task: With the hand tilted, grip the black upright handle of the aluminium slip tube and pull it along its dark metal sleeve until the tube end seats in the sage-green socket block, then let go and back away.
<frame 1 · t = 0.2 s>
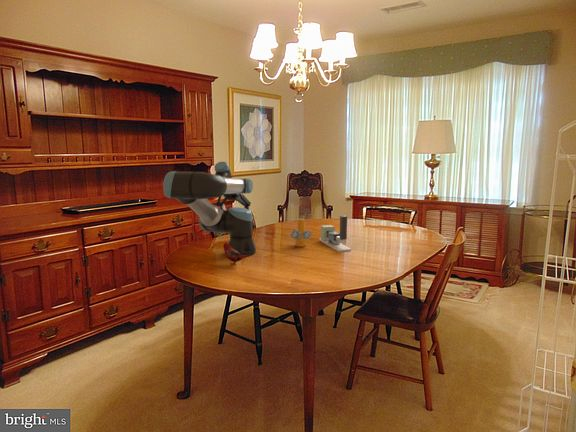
hand: (236, 213, 247), 15 cm above the table, tool tilted 35°, fingers open, 13 cm apart
slip tube: (337, 227, 230), point 11 cm above the table, slide at 0.0 cm
outer sleeve: (333, 238, 236), on the base plate, point 4 cm above the table
socket block: (327, 232, 245), on the base plate, point 5 cm above the table
base plate: (334, 245, 236), on the table
orange grey upright piece: (301, 245, 235), on the table
decorative bird figurine: (235, 265, 197), on the table
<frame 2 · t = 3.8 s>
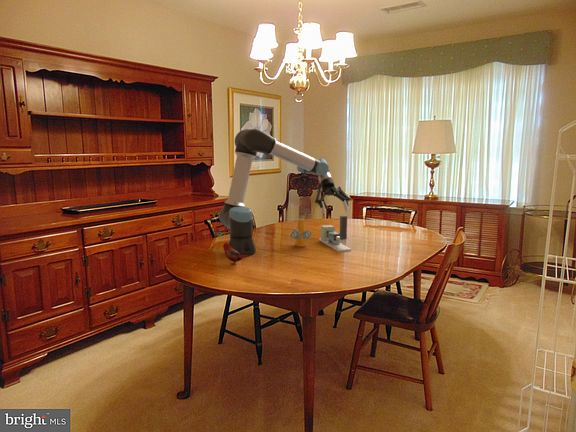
hand: (336, 211, 232), 19 cm above the table, tool tilted 45°, fingers open, 13 cm apart
nothing on the table moved.
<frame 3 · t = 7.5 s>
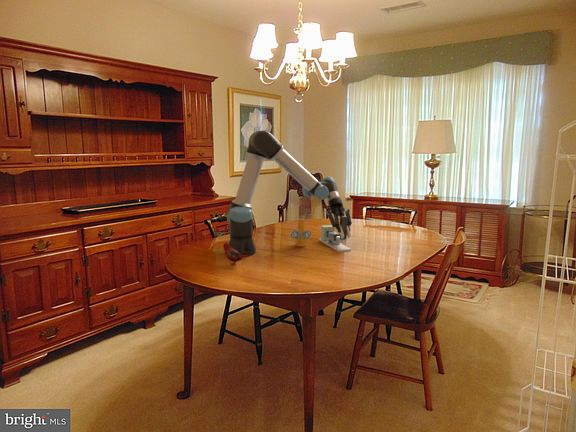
hand: (346, 236, 220), 8 cm above the table, tool tilted 45°, fingers closed on slip tube, 3 cm apart
slip tube: (337, 227, 230), point 11 cm above the table, slide at 0.0 cm, touching gripper
everything else where it was.
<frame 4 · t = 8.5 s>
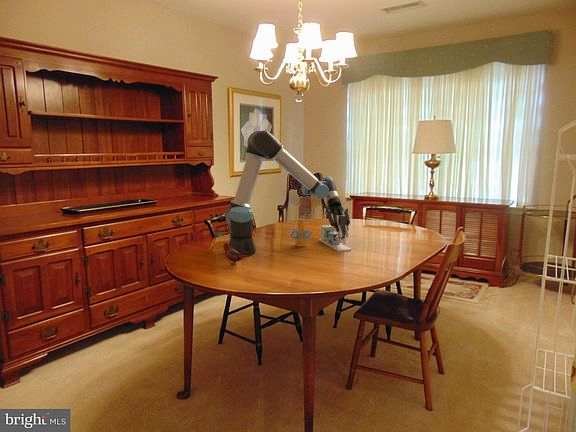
hand: (344, 236, 222), 8 cm above the table, tool tilted 45°, fingers closed on slip tube, 3 cm apart
slip tube: (336, 226, 232), point 11 cm above the table, slide at 2.0 cm, touching gripper
everything else where it was.
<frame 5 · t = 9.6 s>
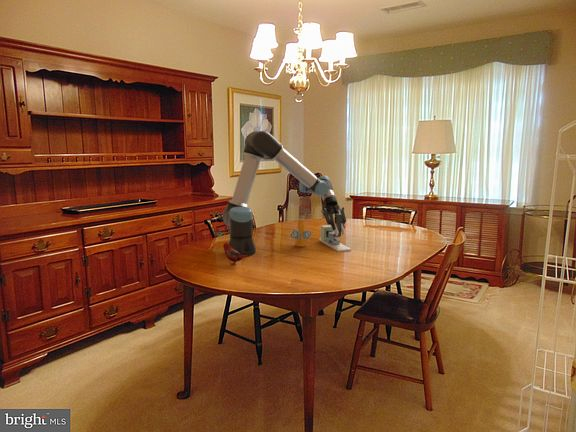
hand: (340, 234, 227), 8 cm above the table, tool tilted 45°, fingers closed on slip tube, 3 cm apart
slip tube: (332, 224, 237), point 11 cm above the table, slide at 7.1 cm, touching gripper
everything else where it was.
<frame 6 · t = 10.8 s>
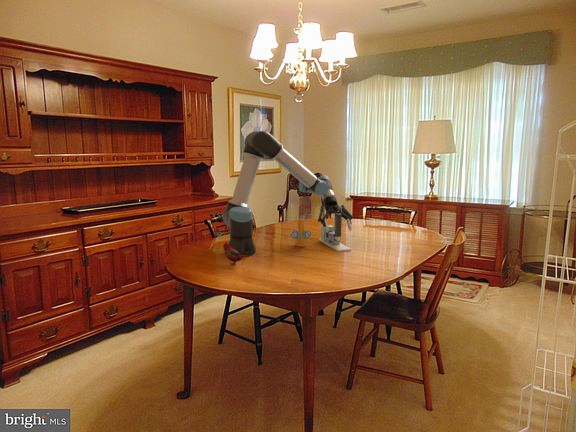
hand: (339, 230, 228), 10 cm above the table, tool tilted 45°, fingers open, 13 cm apart
slip tube: (332, 224, 237), point 11 cm above the table, slide at 7.0 cm
everything else where it was.
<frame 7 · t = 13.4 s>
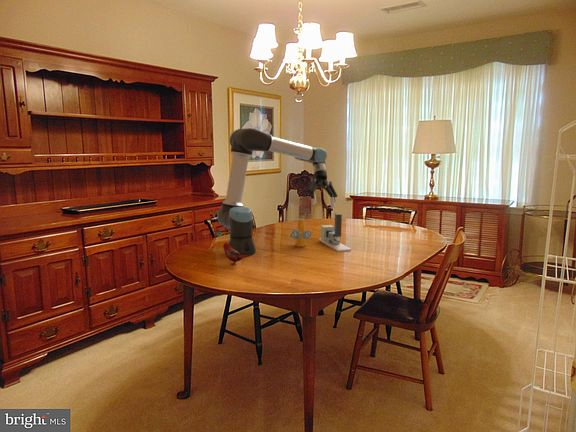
hand: (324, 206, 238), 21 cm above the table, tool tilted 30°, fingers open, 13 cm apart
nothing on the table moved.
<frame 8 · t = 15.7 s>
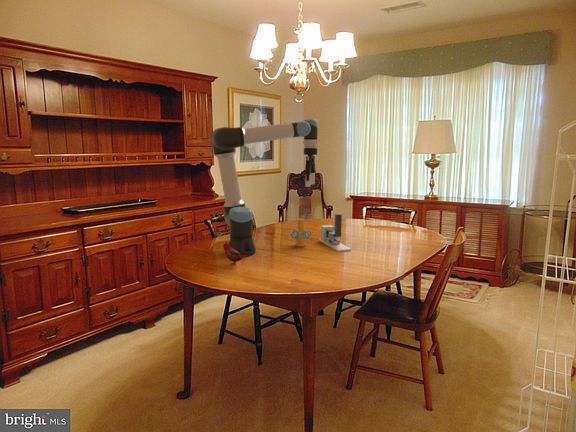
hand: (310, 185, 238), 33 cm above the table, tool pointing down, fingers open, 13 cm apart
nothing on the table moved.
at the end: slip tube slide at 7.0 cm; the gripper is holding nothing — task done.
